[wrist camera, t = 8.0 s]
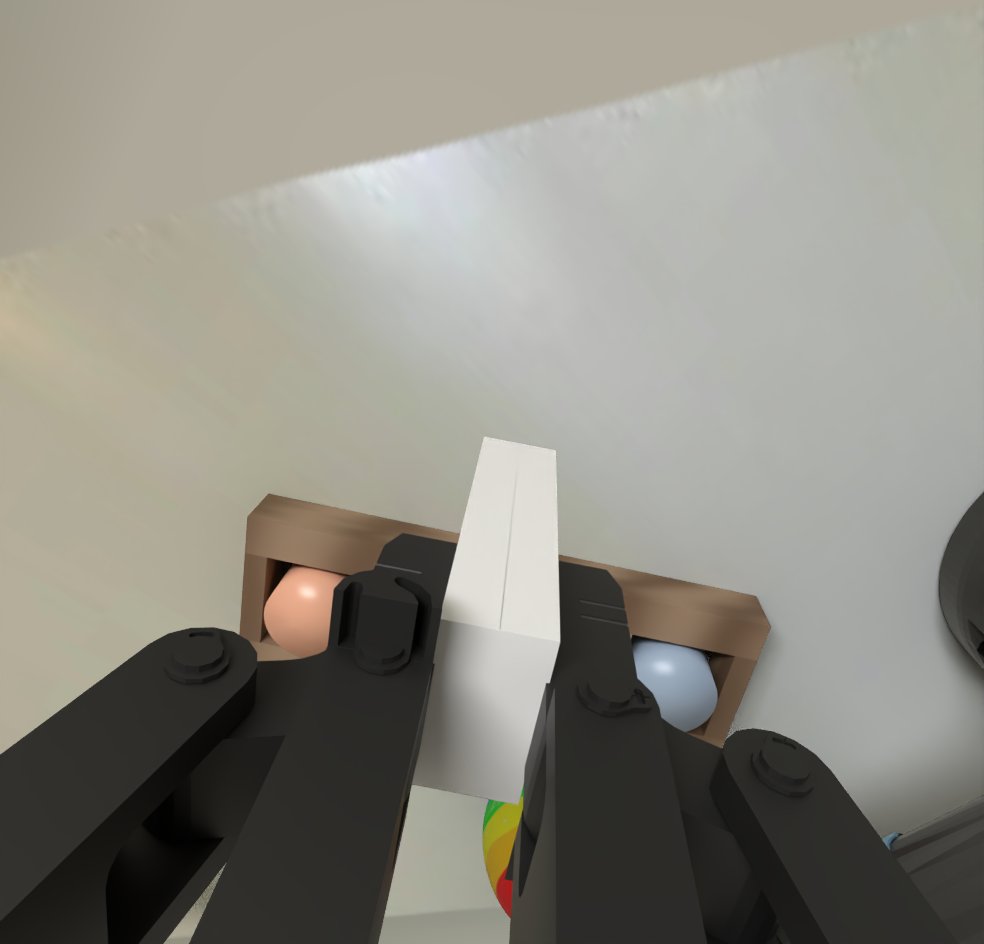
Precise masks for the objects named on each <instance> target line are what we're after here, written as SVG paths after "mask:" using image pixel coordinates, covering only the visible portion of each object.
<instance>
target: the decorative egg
mask: <svg viewBox="0 0 984 944" xmlns="http://www.w3.org/2000/svg"><path fill="white" fill-rule="evenodd" d="M523 793H524V784H523V788H522V792H521V796H520V800H519V804H518V805H517V804H512V803H507V802H501V801H496V800H491V799H489V801H488V805H487V808H486V812H485V817H484V824H483V852H484V860H485V865H486V870H487V874H488V877H489V880H490V883H491V886H492V888H493V891H494V893H495V895H496V897H497V899H498V901H499V903H500V905H501V906H502V908H503V909H504V911H505V912H506V913H507V915H508V916H509V917H510V918H511V904H512V885H513V881H510V880H505V875H506V871H507V867H508V863H509V860H510V856H511V852H512V848H513V844H514V841H515V837H516V833H517V829H518V825H519V821H520V818H521V814H522V810H523Z"/></svg>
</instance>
